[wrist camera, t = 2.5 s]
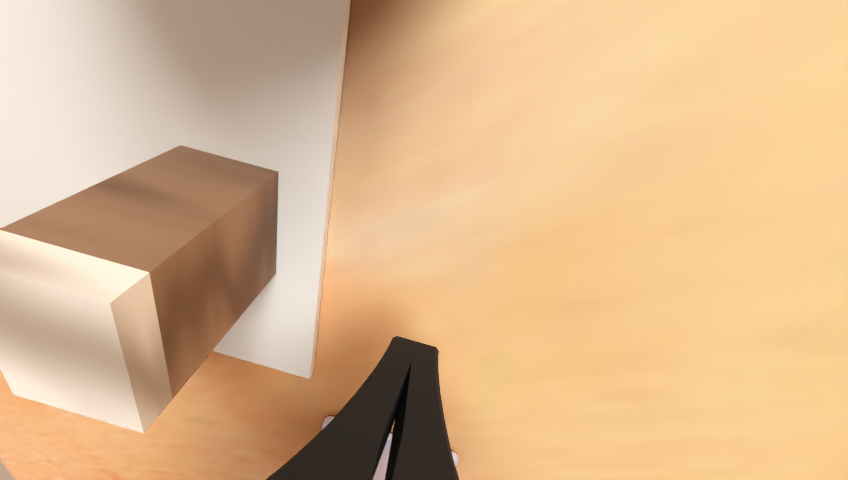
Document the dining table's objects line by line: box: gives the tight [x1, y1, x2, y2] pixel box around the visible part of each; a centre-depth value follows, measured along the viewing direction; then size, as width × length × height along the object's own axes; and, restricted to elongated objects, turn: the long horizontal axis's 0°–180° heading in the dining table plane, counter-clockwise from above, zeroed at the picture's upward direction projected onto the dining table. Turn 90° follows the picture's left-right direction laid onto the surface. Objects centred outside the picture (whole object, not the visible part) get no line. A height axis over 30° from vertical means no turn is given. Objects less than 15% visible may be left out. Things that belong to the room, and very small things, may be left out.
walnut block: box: [0, 145, 279, 433], centre depth 14 cm, size 5×4×8 cm
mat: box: [0, 0, 351, 379], centre depth 18 cm, size 18×16×1 cm
